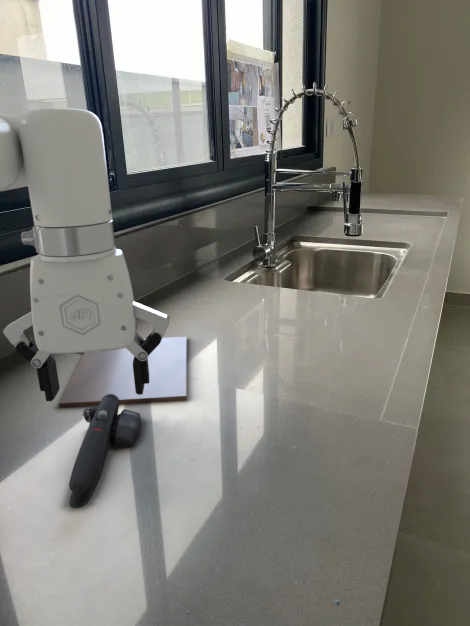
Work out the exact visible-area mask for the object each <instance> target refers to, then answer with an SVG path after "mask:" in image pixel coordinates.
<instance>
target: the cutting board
mask: <svg viewBox="0 0 470 626" xmlns="http://www.w3.org/2000/svg"><path fill="white" fill-rule="evenodd" d="M143 339H144V340H145V339H146V338H143ZM133 360H134V355H133V354H132V353H131V352H129V351H128V350H127V349H126V348H123V349H119V350H109V351H96V352H83V354H82V356H81V358H80V360H79V362H78V364H77V365H76V368H75V370H74V372H73V373H72V376H71V378H70V380H69V382H68V384H67V386H66V387H65V389H64V391H63V393H62V395H61V397H60V400H59V401H58V403H57V404H58V408H59V409H65V408H79V407H81V408H83V407H95V406H99V404H100V402H101V400H102V398H103V397H104V396H105V395H107V394H114V395H116V396H117V397H118V398H119V405H131V404H146V403H147V404H148V403H149V404H150V403H164V402H165V403H166V402H167V403H168V402H181V401H188V361H187V360H188V337H187V336H175V337H162V340H161V343H160V344H159V345H158V346H157V347H156V348H155V349H154V350H153V351H152V353H151V354H150V355H149V356H148V367H149V384H144V390H143V394H141V395H138V394H136V390H135V381H134V372H133Z"/></svg>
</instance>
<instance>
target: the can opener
mask: <svg viewBox="0 0 470 626" xmlns="http://www.w3.org/2000/svg"><path fill="white" fill-rule="evenodd" d="M119 408H120V404H119V398H118V397H117V396H116V395H114V394H107V395H105V396H104V397H103V398H102V400H101V402H100V404H99V406H87V407H84V408H83V409H82V410H83V411H82V412H83V413H82V416H83V418H84V421H85V422H86V423H89V424H88V428H87V429H86V432H85V435H84V438H83V440H82V441H81V445H80V447H79V450H78V453H77V456H76V457H75V462H74V463H73V464H74V465H73V467H72V471H71V475H70V479H69V482H68V487H69V490H70V491H71V492H70V496H69V501H68V505H69V507H70V508H72V509H80V508H82V507H84V506H86V505H87V504H88V503H89V501H90V500H91V499H92V496H93V495H94V492H95V490H96V488H97V486H98V484H99V481H100V479H101V477H102V474H103V470H104V467H105V464H106V460H107V456H108V452H109V449H110V445H111V443H114V446H113V447H114V449H127V448H132V447H133V446H134V445H135V444H136V442H137V440H138V439H139V437H140V434H141V430H142V417H141V413H140V412H136V411H134V410H130V409H126V408H124V409H122V410H121V412H120V413H119Z"/></svg>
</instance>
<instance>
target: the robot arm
mask: <svg viewBox="0 0 470 626" xmlns="http://www.w3.org/2000/svg"><path fill="white" fill-rule="evenodd" d="M106 159H107V158H106V150H105V139H104V132H103V126H102V123H101V121H100V119H99V116H97V114H95V113H94V112H92V111H89V110H87V109H81V108H70V107H69V108H68V107H65V108H63V107H60V108H59V107H57V108H40V109H38V108H37V109H32V110H29V111H27V112H25V113H23V115H21V114H19V115H18V114H11V113H2V112H0V192H5V191H9V190H10V191H11V190H14V189H20V188H26V187H27V188H28V193H29V194H28V195H29V201H30V206H31V212H32V218H33V219H32V220H33V226H32V229H30V230H29V231H22V232H21V234H20V237H21V242H22V245H23V246H31V247H34V248H35V251H36V252H35V253H36V254H37V255H35V256H33V257H31V258H30V263H29V264H30V266H29V291H30V309H31V311H29V312H28V313H26V314H24V315H23V316H21V317H19V318H17V319H16V320H14V321H12V322H10V323H9V324H8V325H6V326H5V327H4V328H3V330H2V334H3V335H4V336H5V338H6V339H7V340H8V342H9V343H10V344H11V345H12V346H13V347H14V348H15V351H16V353H17V354H18V355H20V356H21V357H22V358H24V359H25V360H27V361H28V362H30V365H31V367H33V368H34V369H36V373H37V379H38V386H39V390H40V391H41V392H44V396H45V401H46V402H52V401H54V400H55V398H56V396H57V395H58V392H59V391H60V389H61V386H60V379H59V375H58V368H57V361H56V359H55V358H54V356H51V355H63V354H78V353H79V354H80V353H84V352H96V351H109V350H119V349H123V348H126V349H127V350H128V351H129V352H131V353H132V354H133V355H134V360H133V372H134V381H135V390H136V394H138V395H141V394H143V390H144V384H149V367H148V356H149V355H150V354H151V353H152V351H153V350H154V349H155V348H156V347H157V346H158V345H159V344H160V343H161V340H162V338H164V335H165V333H166V331H167V329H168V327H169V325H170V316H169V315H168V314H166V313H163V312H161V311H159V310H156V309H154V308H151V307H150V306H147V305H144V304H142V303H139V302H137V301H135V297H134V292H133V288H132V281H131V277H130V273H129V269H128V266H127V261H126V258H125V255H124V253H123V250H122V249H120V248H116V239H115V232H114V231H115V230H114V222H113V221H114V220H113V214H112V204H111V196H110V195H111V194H110V184H109V177H108V167H107V160H106ZM138 319H139V320H142V321H144V322H146V323H149V324H151V325H152V326H153V329H152V331H151V332H150V333H149V335H148V336H147V337H146V338H143V337H142V336H141V335H140V333H138V332H137V329H138ZM31 327H32V330H33V336H34V341H33V340H31V339H29V338H27V336H26V334H25V332H24V331H26V330H28V329H29V328H31ZM144 339H145V340H144Z"/></svg>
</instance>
